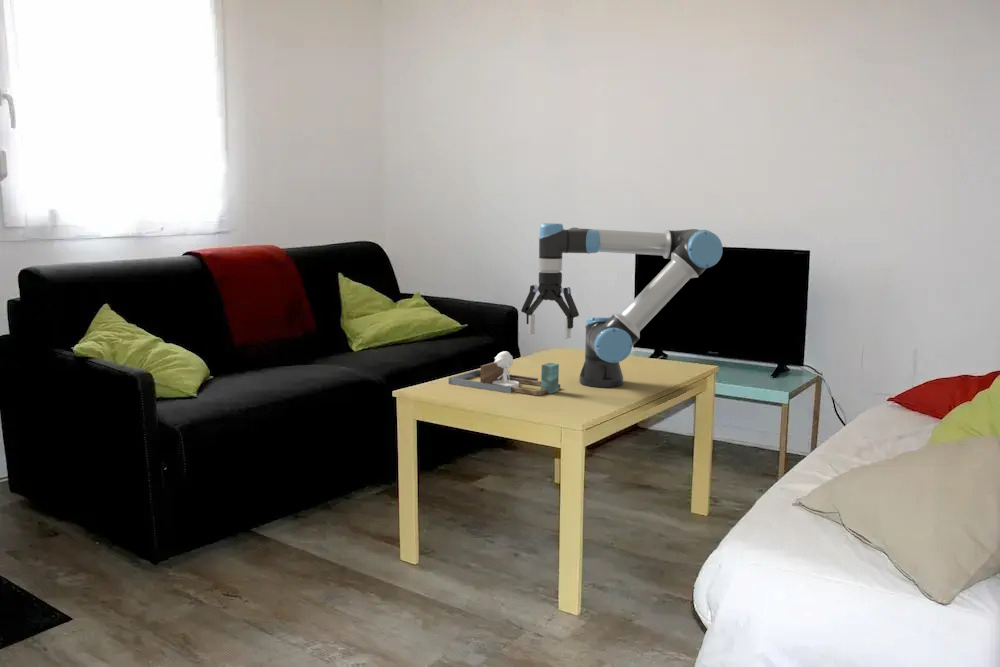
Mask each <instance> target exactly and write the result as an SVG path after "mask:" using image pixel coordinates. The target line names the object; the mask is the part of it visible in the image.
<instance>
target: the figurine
mask: <svg viewBox="0 0 1000 667" xmlns="http://www.w3.org/2000/svg"><path fill="white" fill-rule="evenodd" d="M493 358H494V361H493V362H494V363H496V364H497V366H500V367H502V368H504V369H503V370H504V371H503V372H504V373H503V374H502V375H501V376H500V377H498V378H497V379H499V378H501V377H502V376H503V378H504V380H503V379H502V380H497V381H493V382H492V384H498V385H505V386H511V387H518V388H520V387H519V386H520V383H519V382H517V381H514V380H510V379H509V380H507V375H508V377H509V374H511V373H510V368H511V367H512V366H513V365H514V359H513V358H514V357H513V355H511V353H510V352H509V351H506V350H505V351H504V350H503V351H501V352H499V353H497V355H496V356H495V357H493ZM508 368H509V369H508Z"/></svg>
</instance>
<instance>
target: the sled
mask: <svg viewBox="0 0 1000 667" xmlns="http://www.w3.org/2000/svg"><path fill="white" fill-rule="evenodd" d="M494 362H495V361H493V362H489V363H487V364H483V365H480V370H481V373H480V376H479V377H480V380H479V382H484V383H491V384H492V382H493V381H497V380H502V379H503V380H504V378H503V376H502V377H501V378H499V379H497V378H498V377H500V376H501V375H502V374H503V373H504V372H503V371H504V370H503V369H504V368H502V367H500V366H497V364H496V363H494ZM559 367H560V364H559V363H552V362H547V363H544V364H541V377H540V378H541V380H538V381H534V380H528V379H521V378H514V377H507V380H509V379H510V380H514V381H517V382H519V384H526V385H534V386H539V387H540V389H539V390H538V389H537V390H536V389H531V388H530V389H529V388H523V387H513V389H512V392H516V393H523V394H526V395H527V394H528V395H534V396H542V395H545V394H553V393H556V392H559V389H561V384H560V383H559V376H560V370H559V369H560V368H559ZM497 385H498V384H497ZM504 386H505V385H504Z"/></svg>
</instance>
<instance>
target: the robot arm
mask: <svg viewBox="0 0 1000 667" xmlns="http://www.w3.org/2000/svg"><path fill="white" fill-rule="evenodd" d="M538 237H539V238H538V243H539V244H538V245H539V246H538V252H539V253H538V270H539V271H540V272H538V284H532V285H530V287H529V292H528V295H527V297H526V299H525V301H524V303H523V305H522V308H521V313H524V314H526V325H528V328H527V329H528V330H527V331H528V335H529V336H531V335H535V329H536V328H535V325H536V320H535V318H536V315H535V314H534V312H535V311H536V310H537V308H538V307H539V306H540V304H542V303H543V301H548V300H549V301H552V302H553V301H554V302H555V303H557V305H558V306H559V308H560V309H561V311H562V313H564V315H565V316H566V318H564V339H565V340H568V339H571V338H572V336H571V334H572V333H571V332H572V331H571V330H572V329H573V328H574V319H575V318H578V317H579V316H580V314H579V313H580V312H579V311H578V308H577V306H576V303H575V301H574V299H573V296H572V293H571V292H572V290H571V287H570V286H569V287H562V282H563V273H562V272H561V271H563V254H588V255H589V254H596V253H614V254H631V255H632V254H633V255H646V256H647V255H649V256H662V257H663V259H664V260H665V259H667V260H670V261H669V262H668V263H667V264H666V265H665V266H664V267H663V269H661V270H660V272H659V273H657V275H656V276H655V277H654V278H652V280H651V281H650V282H649V283H648V284H647V285H645V287H644V288H643V290H641V292H640V293H638V295H637V296H636V297H635V298H634V299H633V300H632V301H631V302H630V303H629V304H628V305H627V306H626V307H625V308H624V310H623V311H622V312H621V313H614V314H612V315H611V316H610V317H587V319H586V322H585V349H584V362H583V365H582V369H581V371H580V374H579V380H578V381H579V383H580V384H581V385H583V386H587V387H593V388H594V387H595V388H615V386H616V387H619V386H623V384H624V374H623V371H622V368H621V364H620V362H622V361H624V360H626V359H627V358H628V357H629V356H630V355H631V352H632V350H633V346H634V345H635V344H636V343H637V342H638V341H639V340H640V337H641V335H640V334H641V333H640V332H641V331H642V330H643V329H644V328H645V327H646V326H647V324H649V322H650V321H652V319H653V318H654V317H655V316H656V315H657V314H658V313H659V312H660V311H661V310H662V309H663V308H664V307H665V306H666V305H667V303H669V302H670V300H671V299H672V298H674V296H675V295H676V294H677V293H678V292H679V291H680V290H681V289H682V288H683V286H685V284H686V283H688V282H689V281H690V279H695V278H699V276H701V275H702V274H703V273H704V272H705V271H706V269H708V268H712V267H713V266H716V264H718V262H719V261H720V260H721V258H722V256H723V244H722V240H721V239H720V238H719V236H718V235H717V234H716V233H714V232H712V231H711V230H707V229H696V228H693V229H692V228H690V229H689V228H688V229H682V230H680V229H679V230H666V231H665V232H651V231H649V232H648V231H631V230H630V231H629V230H615V229H598V228H597V229H595V228H591V229H590V228H581V227H579V228H578V227H571V228H568V229H565V228H564V225H563V224H562V223H557V222H556V223H554V222H551V223H550V222H548V223H541V225H540V227H539V236H538ZM537 292H538V293H539V294H538V295H536V294H537ZM561 294H563V296H564V298H563V296H562V295H561ZM535 296H536V299H535ZM534 299H535V300H534ZM533 300H534V302H533Z"/></svg>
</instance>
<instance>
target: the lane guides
mask: <svg viewBox="0 0 1000 667" xmlns="http://www.w3.org/2000/svg"><path fill="white" fill-rule="evenodd" d="M480 373H481V369H474V370H471V371H467V372H464V373H461V374H457V375H454V376H450V377H448V384H449V385H456V386H460V387H461V386H462V387H468V388H476V389H480V390H487V391H488V390H489V391H494V392H498V393H499V392H501V393H507V394H513V391H512V389H513V387H511V386H504V385H497V384H491V383H484V382H480V381H478V380H471V379H472V378H475V377H480ZM507 377H508V375H507ZM509 377H514V378H521V379H528V380H534V381H539V378H537V377H532V376H526V375H517V374H511V373H510V374H509Z"/></svg>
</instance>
